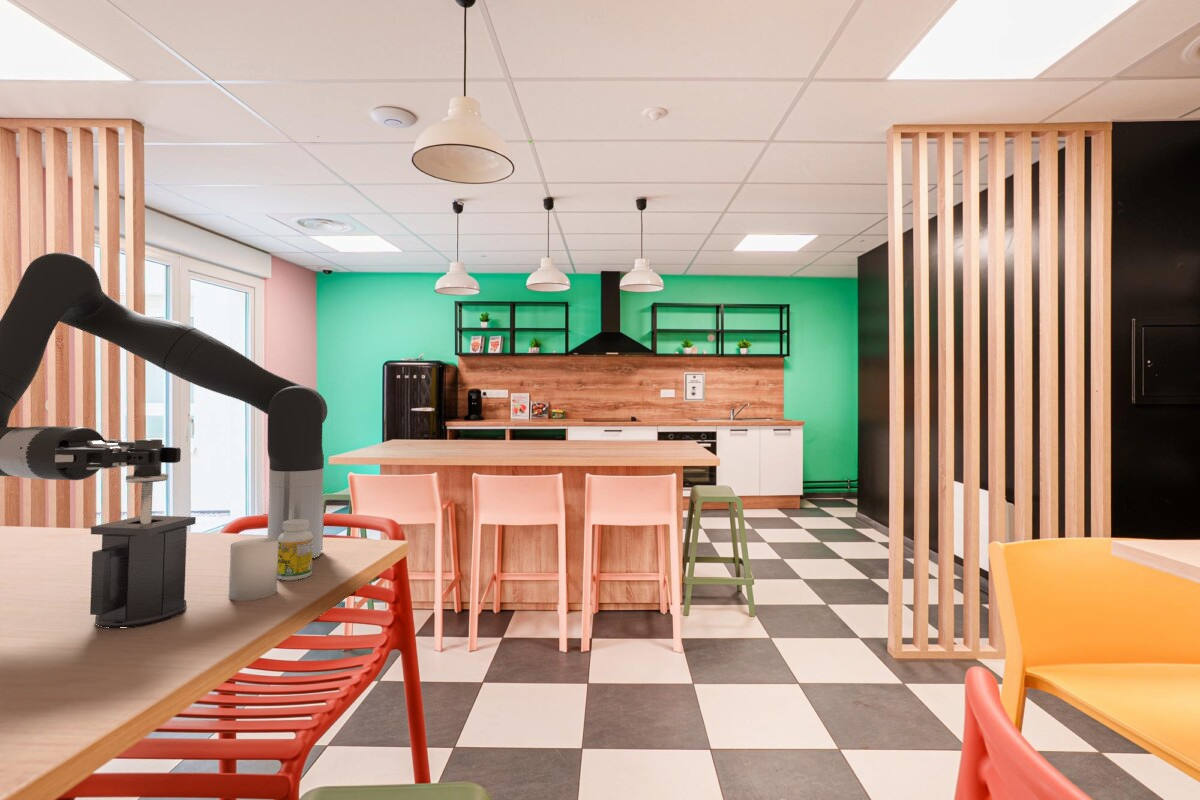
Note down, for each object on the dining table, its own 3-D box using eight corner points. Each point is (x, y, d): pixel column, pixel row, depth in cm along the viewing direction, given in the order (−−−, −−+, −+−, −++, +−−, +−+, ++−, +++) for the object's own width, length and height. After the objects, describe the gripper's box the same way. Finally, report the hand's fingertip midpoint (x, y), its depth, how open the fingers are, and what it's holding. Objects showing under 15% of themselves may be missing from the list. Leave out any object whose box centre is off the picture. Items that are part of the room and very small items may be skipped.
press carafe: (140, 600, 82) (143, 513, 82) (203, 603, 82) (206, 516, 82) (59, 632, 70) (63, 531, 71) (131, 636, 70) (135, 534, 70)
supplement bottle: (318, 575, 96) (320, 520, 96) (288, 583, 92) (290, 525, 92) (299, 570, 99) (301, 516, 99) (269, 577, 94) (271, 521, 94)
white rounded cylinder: (247, 586, 90) (249, 537, 90) (285, 587, 89) (287, 538, 90) (218, 599, 83) (220, 547, 84) (259, 601, 83) (260, 548, 83)
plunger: (142, 583, 79) (147, 438, 80) (172, 585, 79) (177, 439, 79) (112, 594, 75) (118, 440, 75) (144, 595, 75) (150, 441, 75)
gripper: (-4, 428, 71) (123, 431, 70) (101, 424, 85) (207, 427, 84) (-6, 486, 71) (121, 490, 70) (99, 473, 85) (206, 476, 84)
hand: (167, 456), depth 77 cm, fingers closed on plunger, 3 cm apart
